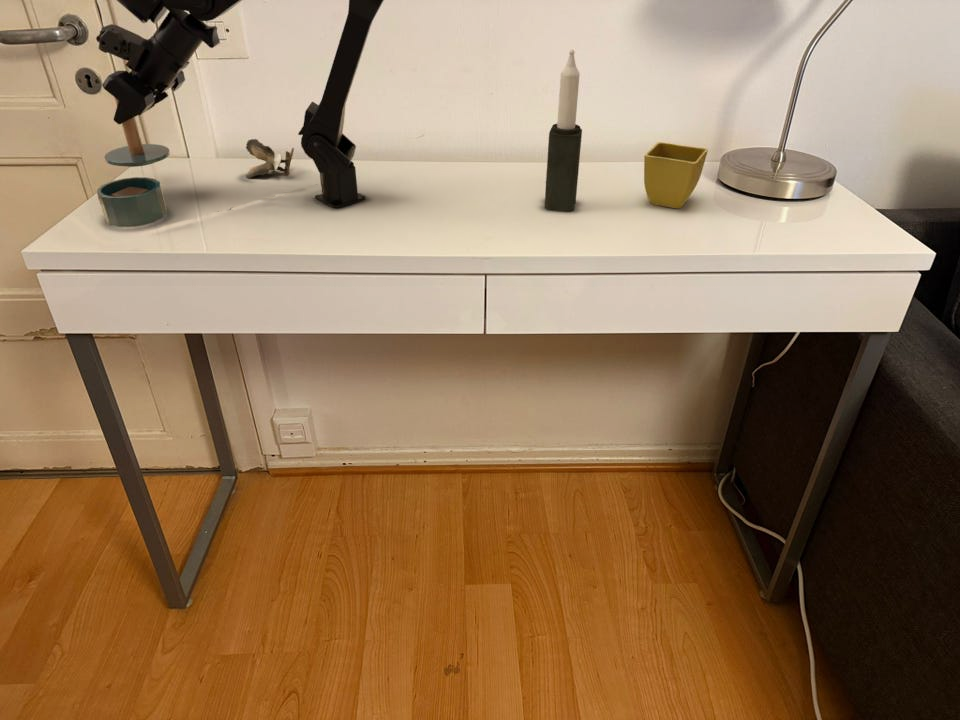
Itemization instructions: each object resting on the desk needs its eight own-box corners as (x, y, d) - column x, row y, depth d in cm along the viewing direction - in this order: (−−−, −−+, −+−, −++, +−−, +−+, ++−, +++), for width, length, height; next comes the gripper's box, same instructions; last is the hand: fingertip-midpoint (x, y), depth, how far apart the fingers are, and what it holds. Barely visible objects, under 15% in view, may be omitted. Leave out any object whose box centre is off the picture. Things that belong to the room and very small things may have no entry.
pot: (177, 219, 113) (169, 187, 110) (120, 234, 108) (110, 202, 105) (153, 203, 119) (145, 173, 116) (98, 218, 113) (88, 186, 110)
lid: (183, 157, 118) (168, 91, 112) (132, 174, 111) (113, 105, 105) (145, 147, 122) (128, 84, 116) (93, 163, 115) (72, 96, 109)
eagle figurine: (295, 161, 134) (248, 153, 133) (293, 137, 128) (243, 127, 126) (287, 194, 131) (239, 185, 130) (284, 170, 124) (233, 161, 123)
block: (155, 213, 114) (149, 189, 112) (137, 221, 111) (130, 198, 109) (136, 209, 115) (129, 186, 113) (118, 218, 112) (110, 194, 110)
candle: (573, 212, 117) (587, 53, 103) (543, 209, 118) (553, 51, 104) (576, 201, 121) (590, 47, 107) (547, 199, 122) (557, 45, 108)
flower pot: (636, 206, 120) (643, 154, 115) (650, 190, 126) (658, 140, 121) (687, 215, 117) (696, 162, 111) (699, 199, 123) (709, 148, 118)
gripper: (147, -3, 111) (98, 70, 117) (96, 14, 96) (43, 97, 101) (207, 50, 116) (157, 118, 122) (168, 75, 100) (113, 151, 106)
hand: (119, 120), depth 113 cm, fingers closed on lid, 2 cm apart
